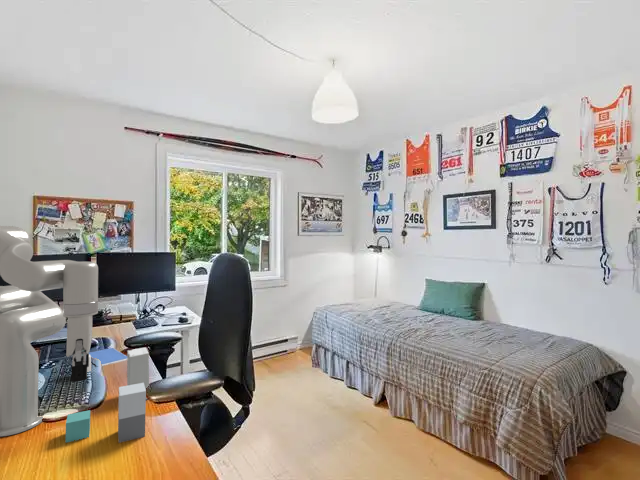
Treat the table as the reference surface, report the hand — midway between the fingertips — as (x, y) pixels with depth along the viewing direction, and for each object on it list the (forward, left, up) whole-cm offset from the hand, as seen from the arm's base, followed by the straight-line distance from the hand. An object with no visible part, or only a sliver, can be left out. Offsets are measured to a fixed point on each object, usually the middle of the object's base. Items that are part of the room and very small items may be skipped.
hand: (80, 374), depth 91 cm
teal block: (0, 0, -16) cm, 16 cm away
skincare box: (+15, +17, -16) cm, 28 cm away
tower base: (+12, -6, -16) cm, 21 cm away
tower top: (+12, -6, -10) cm, 17 cm away
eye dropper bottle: (-1, +44, -16) cm, 47 cm away
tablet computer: (+6, +63, -17) cm, 66 cm away
